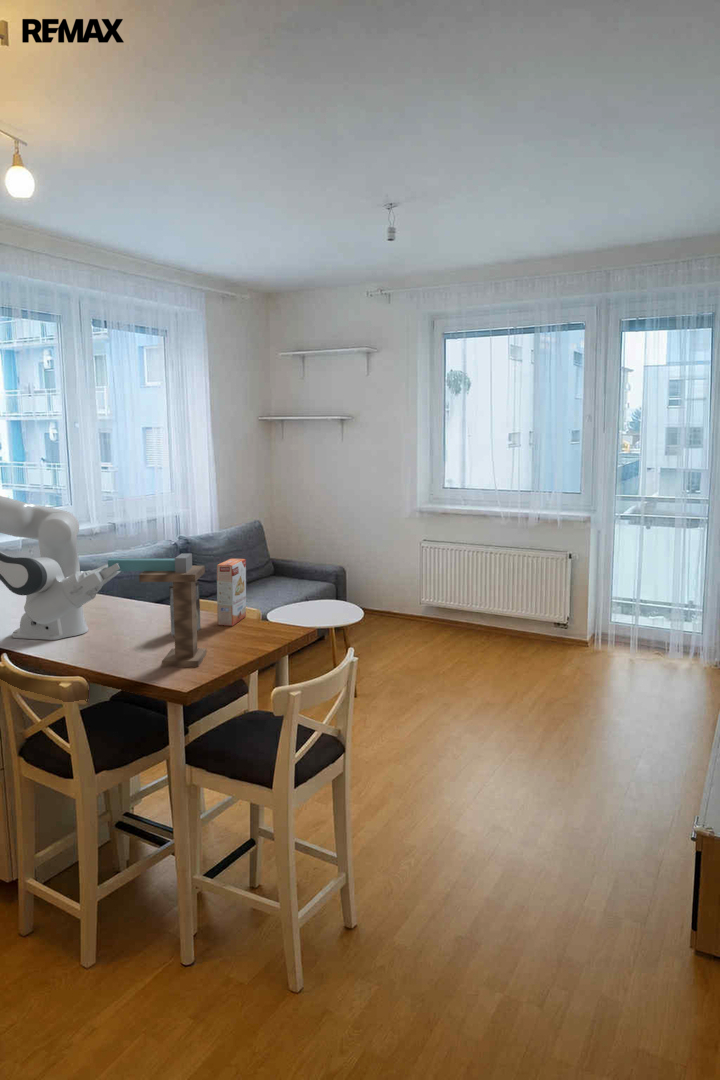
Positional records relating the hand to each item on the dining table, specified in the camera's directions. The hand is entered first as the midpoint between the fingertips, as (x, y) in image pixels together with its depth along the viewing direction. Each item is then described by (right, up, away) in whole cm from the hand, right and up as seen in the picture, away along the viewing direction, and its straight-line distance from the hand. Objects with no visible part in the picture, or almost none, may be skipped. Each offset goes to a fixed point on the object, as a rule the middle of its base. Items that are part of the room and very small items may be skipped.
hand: (123, 563), depth 202 cm
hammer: (+7, -2, 0) cm, 7 cm away
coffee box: (+9, -24, +34) cm, 42 cm away
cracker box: (+22, -22, +48) cm, 57 cm away
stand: (+13, -28, +4) cm, 31 cm away
